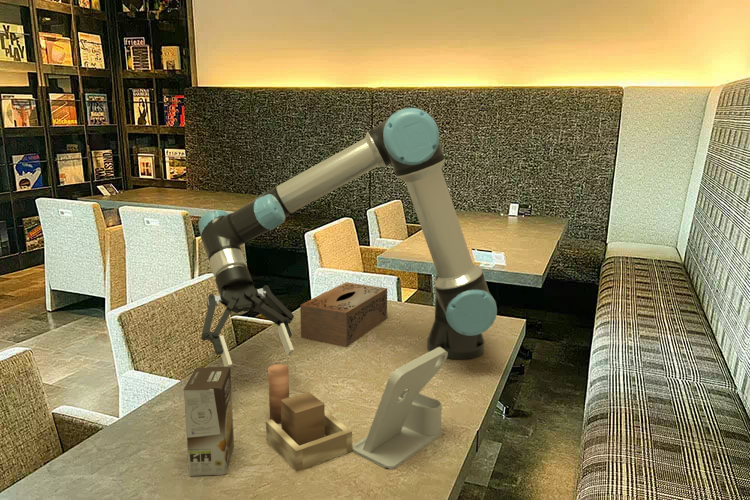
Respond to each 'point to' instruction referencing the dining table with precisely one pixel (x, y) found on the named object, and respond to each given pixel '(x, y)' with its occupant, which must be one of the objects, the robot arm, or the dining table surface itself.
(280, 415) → the block
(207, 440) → the coffee box
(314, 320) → the tissue box cover
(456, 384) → the dining table surface
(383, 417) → the phone holder
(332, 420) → the wooden u-shaped frame
